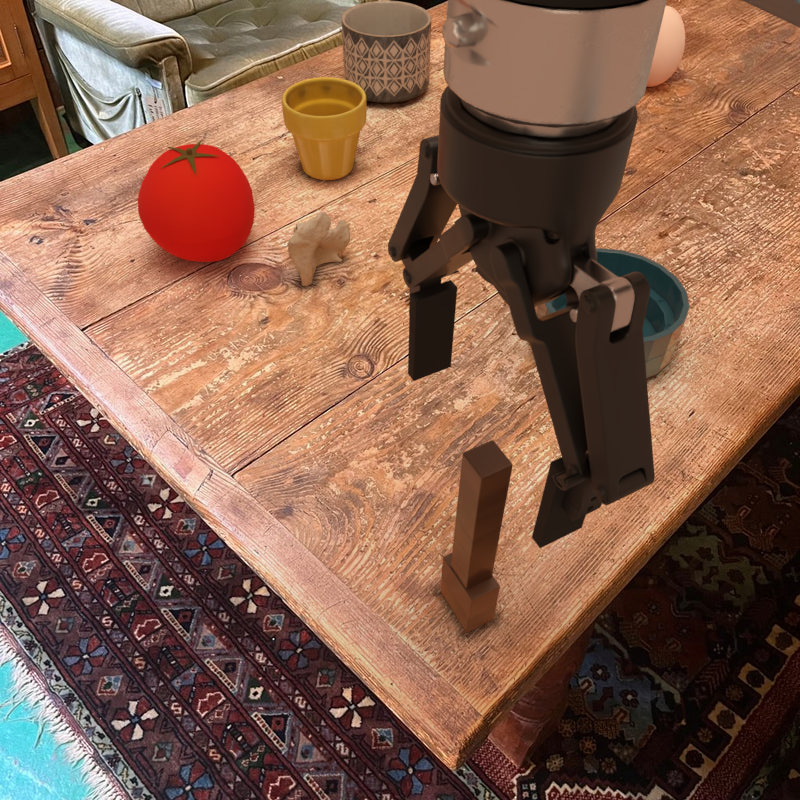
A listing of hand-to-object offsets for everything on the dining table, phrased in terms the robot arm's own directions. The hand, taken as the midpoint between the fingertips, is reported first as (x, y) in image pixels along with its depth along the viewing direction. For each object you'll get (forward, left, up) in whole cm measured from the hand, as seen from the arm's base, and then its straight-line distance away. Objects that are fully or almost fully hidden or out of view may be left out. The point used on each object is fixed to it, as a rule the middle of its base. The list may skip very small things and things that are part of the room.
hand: (487, 444), depth 45 cm
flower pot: (+62, -17, -19) cm, 67 cm away
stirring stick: (0, 0, -19) cm, 19 cm away
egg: (+61, -70, -19) cm, 95 cm away
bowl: (+19, -28, -19) cm, 39 cm away
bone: (+44, -7, -19) cm, 48 cm away
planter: (+78, -34, -19) cm, 87 cm away
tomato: (+52, +3, -19) cm, 55 cm away
